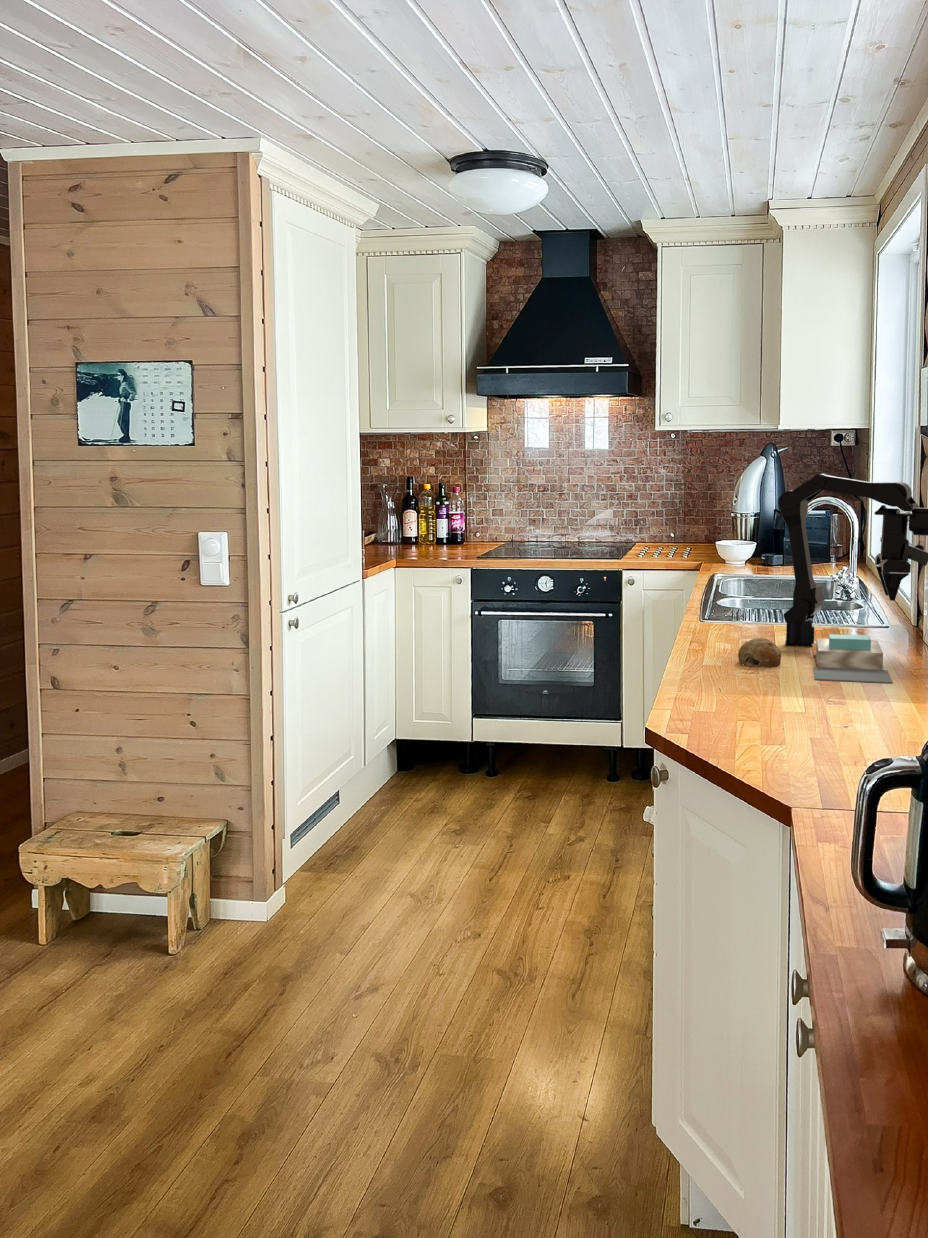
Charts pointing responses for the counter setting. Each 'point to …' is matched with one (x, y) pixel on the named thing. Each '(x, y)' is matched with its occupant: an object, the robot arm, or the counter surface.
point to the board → (849, 656)
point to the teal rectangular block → (849, 642)
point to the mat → (852, 675)
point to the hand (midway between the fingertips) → (890, 597)
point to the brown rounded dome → (759, 653)
